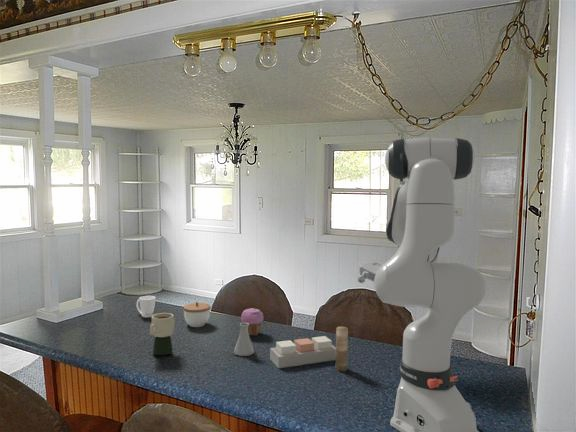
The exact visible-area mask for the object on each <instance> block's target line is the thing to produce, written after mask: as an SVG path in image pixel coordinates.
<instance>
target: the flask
mask: <svg viewBox="0 0 576 432" xmlns="http://www.w3.org/2000/svg"><path fill="white" fill-rule="evenodd" d="M248 326H249V323H243V322H240V323H239V327H240V330H239V334H238V338H237V342H236V345H235V346H234V349H233V355H235V356H239V357H246V356H247V357H249V356H252V355H253V354H254V353H255V349H254V346H253V343H252V340H251V337H250V335H249V333H248Z"/></svg>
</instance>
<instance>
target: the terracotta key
mask: <svg viewBox="0 0 576 432" xmlns="http://www.w3.org/2000/svg"><path fill="white" fill-rule="evenodd" d="M293 343H294V344H295V345H296V350H297V351H298V352H299V353H301V352H308V351H314V343H313V342H312V339H310V338H308V337H306V338H297V339H294V340H293Z"/></svg>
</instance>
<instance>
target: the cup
mask: <svg viewBox="0 0 576 432" xmlns="http://www.w3.org/2000/svg"><path fill="white" fill-rule="evenodd" d="M156 299H157V297H156V296H154V295H144V296H140V297H138V299H137V300H136V305H135V307H136V310H137V311H138V313H140V315H141V317H142V318H152V316H153V315H154V312H155V304H156Z"/></svg>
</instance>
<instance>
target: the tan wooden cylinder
mask: <svg viewBox="0 0 576 432" xmlns="http://www.w3.org/2000/svg"><path fill="white" fill-rule="evenodd" d="M335 330H336V331H335V333H336V334H335V347H336V360H335V370H336V371H338V372H346V371H347V370H348V349H349V346H348V345H349V328H348V327H346V326H337V327H336V329H335Z"/></svg>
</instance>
